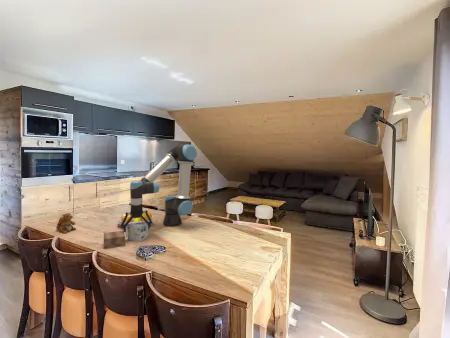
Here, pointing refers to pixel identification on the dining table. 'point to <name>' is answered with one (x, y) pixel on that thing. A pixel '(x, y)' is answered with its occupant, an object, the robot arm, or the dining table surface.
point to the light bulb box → (136, 231)
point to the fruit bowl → (136, 218)
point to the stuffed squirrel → (65, 223)
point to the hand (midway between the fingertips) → (137, 235)
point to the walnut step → (114, 239)
